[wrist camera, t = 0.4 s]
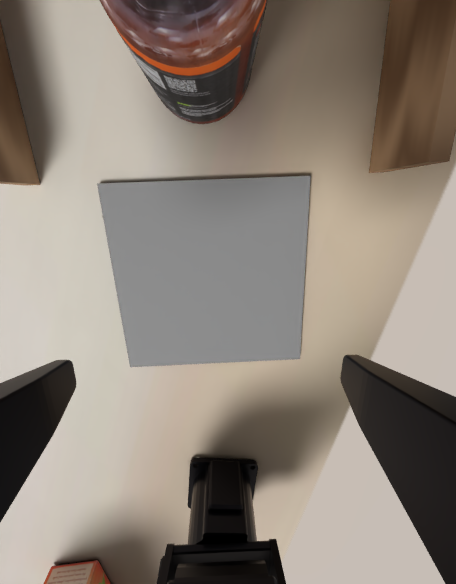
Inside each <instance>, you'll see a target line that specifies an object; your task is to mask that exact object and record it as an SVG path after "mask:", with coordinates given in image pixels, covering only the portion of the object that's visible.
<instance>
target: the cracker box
mask: <svg viewBox="0 0 456 584" xmlns="http://www.w3.org/2000/svg"><path fill="white" fill-rule="evenodd" d="M44 584H111V583H110V582H109V580H108V578H107V576H106V574H105V572H104V571H103V569H102V567H101V565H100V563H99V562H98V561H97V560H95V561H88V562H81V563H73V564H66V565H58V566H52V567H51V569H50V571H49V573H48V575H47V578H46V580H45V582H44Z"/></svg>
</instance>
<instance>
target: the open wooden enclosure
mask: <svg viewBox="0 0 456 584" xmlns="http://www.w3.org/2000/svg"><path fill="white" fill-rule="evenodd" d="M455 131H456V0H390V7H389V15H388V23H387V31H386V39H385V47H384V56H383V64H382V72H381V80H380V88H379V96H378V104H377V112H376V120H375V128H374V137H373V145H372V153H371V161H370V169H369V173H374V172H388V171H394V170H400V169H406V168H412V167H418V166H424V165H430V164H435V163H441V162H447V161H449V160H450V155H451V150H452V145H453V141H454V136H455ZM0 183H1V184H15V185H40V182H39V178H38V174H37V170H36V166H35V162H34V157H33V153H32V149H31V145H30V141H29V137H28V133H27V129H26V125H25V121H24V116H23V112H22V108H21V104H20V100H19V96H18V92H17V88H16V84H15V80H14V76H13V71H12V67H11V63H10V59H9V55H8V51H7V47H6V43H5V39H4V35H3V30H2V26H1V22H0Z"/></svg>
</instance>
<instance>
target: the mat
mask: <svg viewBox="0 0 456 584" xmlns="http://www.w3.org/2000/svg"><path fill="white" fill-rule="evenodd" d="M310 178H311V176H291V177H263V178H236V179H209V180H181V181H154V182H127V183H99V184H97V185H98V191H99V196H100V202H101V208H102V213H103V219H104V224H105V230H106V235H107V241H108V246H109V252H110V258H111V263H112V269H113V274H114V280H115V285H116V291H117V296H118V302H119V308H120V313H121V319H122V324H123V330H124V335H125V341H126V346H127V352H128V358H129V363H130V367H142V366H163V365H184V364H205V363H226V362H247V361H268V360H288V359H300V348H301V331H302V314H303V297H304V280H305V263H306V246H307V229H308V212H309V195H310Z"/></svg>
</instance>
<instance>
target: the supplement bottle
mask: <svg viewBox="0 0 456 584" xmlns="http://www.w3.org/2000/svg"><path fill="white" fill-rule="evenodd" d="M100 2H101V4H102V6H103V7H104V9H105V11H106V13H107V15H108V16H109V18H110V19H111V21H112V23H113V24H114V26H115V27H116V29H117V31H118V33H119V34H120V36H121V37H122V39H123V41H124V42H125V44H126V45H127V47H128V49H129V50H130V52H131V53H132V55H133V57H134V58H135V60H136V61H137V63H138V65H139V66H140V68H141V69H142V71H143V73H144V74H145V76H146V78H147V79H148V81H149V82H150V84H151V86H152V87H153V89H154V90H155V92H156V94H157V95H158V97H159V98H160V99H161V101H162V102H163V103H164V105H165V106H166V107H167V108H168V109H169V110H170V111H171V112H172V113H173V114H175V115H176V116H177V117H179V118H181V119H183V120H186V121H188V122H192V123H197V124H205V123H212V122H216V121H218V120H220V119H222V118H224V117H225V116H227V115H228V114H229V113H230V112H231V111H233V110H234V108H235V107H236V106H237V105H238V103H239V102H240V100H241V99H242V98H243V95H244V93H245V91H246V88H247V86H248V82H249V79H250V75H251V70H252V65H253V61H254V57H255V52H256V48H257V44H258V39H259V34H260V30H261V25H262V21H263V17H264V13H265V9H266V4H267V0H100Z"/></svg>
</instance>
